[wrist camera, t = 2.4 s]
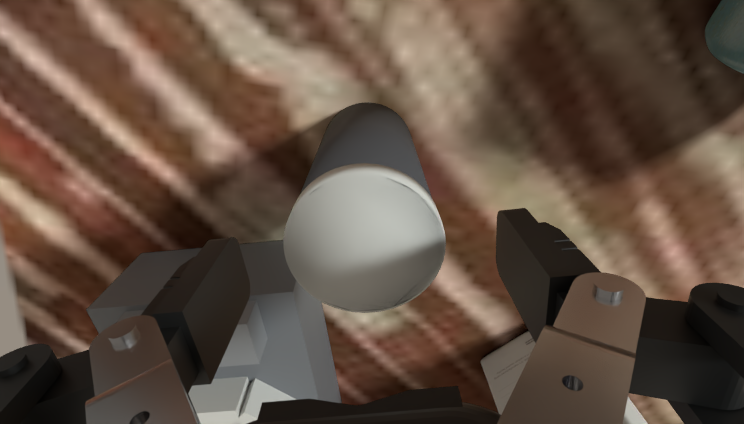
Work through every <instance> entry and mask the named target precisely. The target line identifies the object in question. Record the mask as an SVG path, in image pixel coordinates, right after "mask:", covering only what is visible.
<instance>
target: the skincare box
mask: <svg viewBox="0 0 744 424" xmlns="http://www.w3.org/2000/svg"><path fill="white" fill-rule="evenodd" d="M535 344H536V343H535V342H534V340H533V338H532V336H531V334H530V332H529V331H527V332H526V333H524V334H522V335H520V336H519V337H517V338H515V339H514V340H512V341H510V342H509V343H507V344H506V345H504V346H502V347H501V348H499V349H497V350H495V351H494V352H492V353H491V354H489V355H487V356H486V357H484V358H483V359H482V360H481V365H482V367H483V370H484V373H485V376H486V379H487V381H488V384H489V387H490V390H491V393H492V395H493V398H494V401H495V404H496V407H497V410H498V412H499V414H502V412H503V410H504V408H505V406H506V404H507V402H508V400H509V398H510V396H511V394H512V392H513V390H514V388H515V385H516V383H517V381H518V379H519V377H520V375H521V373H522V371H523V369H524V367H525V365H526V363H527V361H528V359H529V356H530V354H531V352H532V350H533V348H534V346H535ZM623 424H647V422H646V421H645V419H644V418H643V417H642V415H641V414H640V412H639V411H638V410H637V408H636V407H635V406H634V404H633V403H632V402H631V400H630V399H629V397H628V399H627V404H626V409H625V414H624V420H623Z"/></svg>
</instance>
